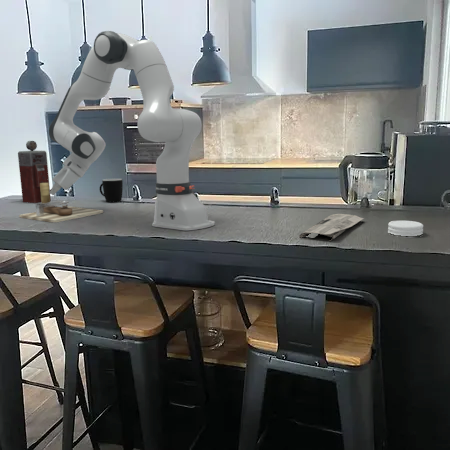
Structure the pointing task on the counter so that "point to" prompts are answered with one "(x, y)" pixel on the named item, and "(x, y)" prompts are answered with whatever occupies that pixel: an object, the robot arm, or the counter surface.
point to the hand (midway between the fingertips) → (50, 193)
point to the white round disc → (405, 228)
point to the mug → (112, 189)
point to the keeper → (41, 206)
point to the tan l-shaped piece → (46, 198)
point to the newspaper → (333, 225)
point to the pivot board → (55, 217)
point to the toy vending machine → (32, 172)
